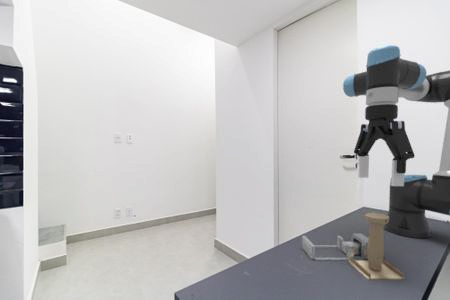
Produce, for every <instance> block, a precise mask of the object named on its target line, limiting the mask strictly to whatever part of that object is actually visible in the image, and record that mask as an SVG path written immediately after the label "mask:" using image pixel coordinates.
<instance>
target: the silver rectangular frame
mask: <svg viewBox="0 0 450 300" xmlns="http://www.w3.org/2000/svg"><path fill="white" fill-rule="evenodd" d="M341 242H344V238H343V237H342V236H341V235H337V237H336V244H335V245H334V244H332V245H331V244H330V245H329V244H328V245H324V244H323V245H322V244H321V245H320V244H319V245H314V243H313V242H312V241H311V240H310V239H309V238H308V237H307V236H306V235H301V248H302V250H303V251H304V252H305V253H306V255H308V258H310V260H315V261H350V257H352V258H353V259H354V257H355V254H354V246H353V245H351V244H347V254H346V257H316V248H317V249H318V248H322V249H323V248H329V249H330V248H334V249H335V248H336V249H338V250H339V251H342V250H341ZM354 260H355V259H354Z"/></svg>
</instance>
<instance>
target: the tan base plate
mask: <svg viewBox="0 0 450 300" xmlns="http://www.w3.org/2000/svg"><path fill="white" fill-rule="evenodd" d="M347 261H348V263H349V264H350V265H351V266H352V267H354V269H356V270H357V271H358V273H360V275H362V276H363V277H364V278H365V279H366V280H377V281H378V280H405V279H406V277H405V275H404V273H403V272H401V270H399V269H398V268H397V267H394V266H393V264H391V263H389V262H388V261H387V260H385V259H383V263H382V266H381V267H382V268H381V271H374V270H372V269H370V268H369V266H368V263H369V262H368V260H356V259H353V258H352V257H350V260H347Z"/></svg>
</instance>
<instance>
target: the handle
mask: <svg viewBox="0 0 450 300" xmlns="http://www.w3.org/2000/svg"><path fill="white" fill-rule="evenodd" d="M364 220H366V222H368V223H369V229H368V230H369V231H368V234H369V238H368V237H367V238H368V247H367V255H368V259H367V261H368V262H369V263H368V266H369V268H370V269H372V270H374V271H381V268H382V267H381V266H382V263H383V260H384V257H385V236H384V235H385V234H384V233H385V231H384V230H385V229H384V224H387V223H388V222H389V216H388V215H387V214H385V213H379V212H368V213H365V214H364Z"/></svg>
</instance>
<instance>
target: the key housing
mask: <svg viewBox="0 0 450 300" xmlns="http://www.w3.org/2000/svg"><path fill="white" fill-rule="evenodd" d="M350 242H361V243H363V244H362V245H361V254H360V257H361V258H362V259H364V260H365V259H366V260H368V255H367V247H368V236H365V234H363V233H352V236H350Z"/></svg>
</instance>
